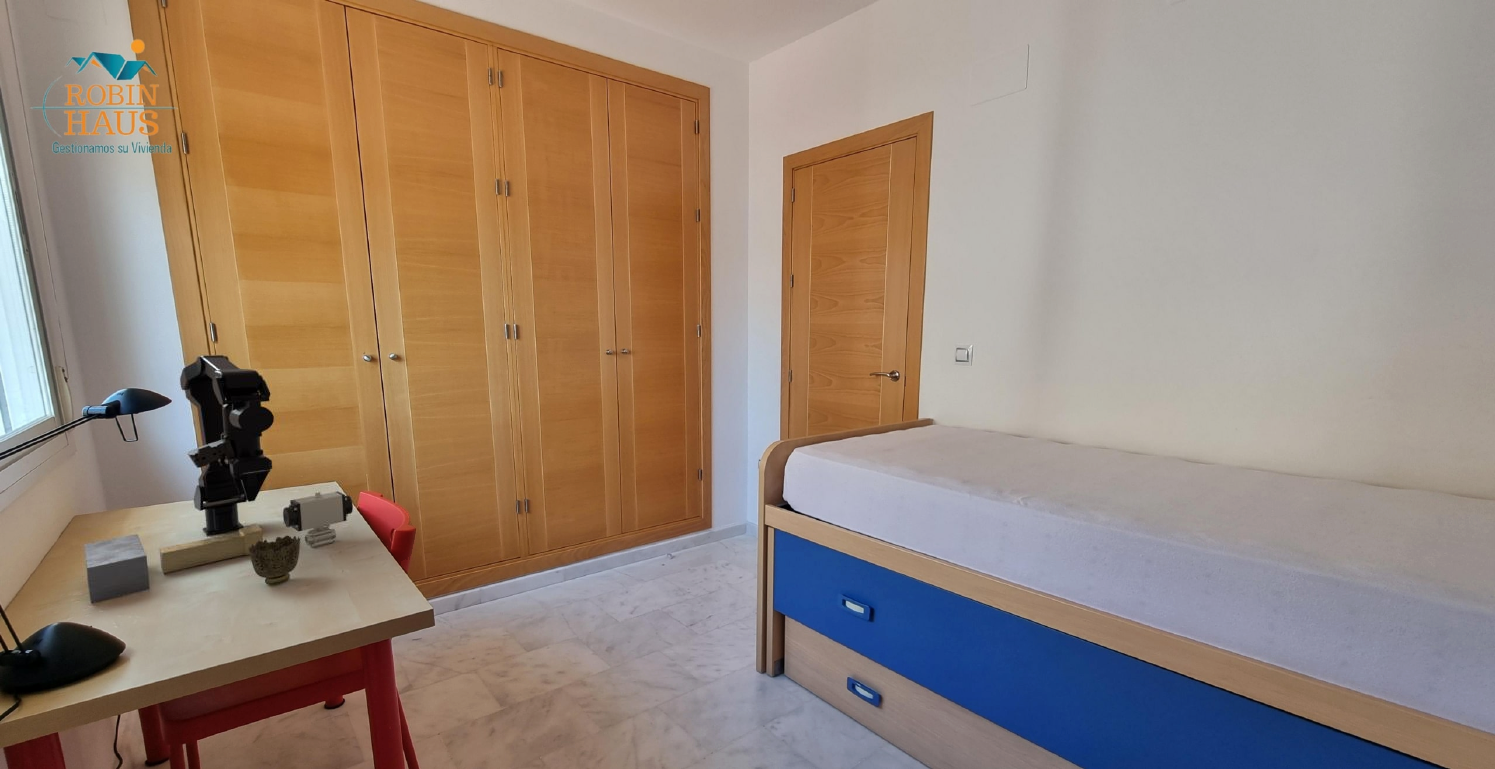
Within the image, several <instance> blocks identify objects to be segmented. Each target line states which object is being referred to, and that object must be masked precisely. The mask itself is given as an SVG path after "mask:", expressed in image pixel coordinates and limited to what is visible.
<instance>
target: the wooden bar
mask: <svg viewBox="0 0 1495 769" xmlns="http://www.w3.org/2000/svg"><path fill="white" fill-rule="evenodd" d="M258 541H261V542H264V532H263V529H262V528H261V527H260V526H259V525H258V524H257V525H251V526H247V527H243V528H241V529H238V532H234V533H230V534H224V535H219V536H213V537H210V538H204V539H199V540H195V541H190V542H185V543H181V544H176V545H175V544H174V545H170V546H166V547H161V548H159V550H158V551H159V560H160V568H161V571H162V572H163V574H166V573H170V572H173V571H179V570H182V569H188V568H191V567H196V566H200V565H204V564H205V565H206V564H209V563H212V562H218V561H221V560H225V559H230V558H235V557H238V556H243V555H245V556H250V552H249V547H250V548H251V545H252V544H253V545H254V546H255V545H256V543H257V542H258Z"/></svg>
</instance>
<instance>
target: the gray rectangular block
mask: <svg viewBox="0 0 1495 769" xmlns="http://www.w3.org/2000/svg"><path fill="white" fill-rule="evenodd" d="M83 548H84V550H83V551H84V557H85V558H84V559H85V566H86V568H85V569H86V576H87V583H88V584H87V585H89V586H88V591H89V592H88V593H89V599H90V600H89V601H90V604H91V605H92V604H96V603H99V602H103V601H104V602H105V601H108V600H112V599H115V598H116V599H117V598H121V597H124V596H128V595H131V594H136V593H141V592H145V591H149V590H151V589H150V588H151V587H150V578H149V567H148V557H147V553H146V551H145V548H144V546H143V543H142V541H141V539H140V537H139V535H138V534H137V533H136V534H131V535H130V534H129V535H127V536H126V535H125V536H120V537H115V538H111V539H105V540H104V539H103V540H99V541H95V542H90V543H89V542H88V543H84V544H83Z"/></svg>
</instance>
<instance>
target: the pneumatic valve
mask: <svg viewBox="0 0 1495 769" xmlns="http://www.w3.org/2000/svg"><path fill="white" fill-rule="evenodd" d="M289 502H290V504H289V505H288V506H286V507H284V508H283V511H282V518H283V523H284V525H285V527H286V528H290V527H291V528H292V529H294V530H295V531H297V532H304V531H307V532H306V534H305V536H304V542H305V544H306V546H311V547H312V548H318V547H322V545H323V546H327V545H331V544H333V543H334V540H335V539H336V538H337V531H336V528H330V525H334V524H339V523H342V522H343V523H344V522H347V517H348V516H349V515H351V514H352V513H353V509H354V505H353V500H352V497H351V496H350V495H345V493H342V492H340V491H333V492H327V493H322V494H321V491H318V492H314V495H313V496H312V495H310V496H307V497H301V498H296V499H291V500H290V501H289ZM330 543H331V544H330ZM326 544H327V545H326Z"/></svg>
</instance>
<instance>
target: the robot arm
mask: <svg viewBox="0 0 1495 769" xmlns="http://www.w3.org/2000/svg"><path fill="white" fill-rule="evenodd" d="M195 360H196V361H194V362H192V363H191V364H189V365H187V366H185V367H184V368H183V369H182V372H181V374H180V377H179V378H180V379H179V384H180V389H181V391H184V394H185V398H186V400H188V401H189V402H190V403H192V405H194V406H195V407H196V409H197V416H198V422H199V429H200V436H201V444H202V446H199V447H197V448H194V449H191V450H189V451H188V452H187V451H186V452H187V453H186V454H187V455H188V457H189V458H190V460H191V461H192V463H193V464H194V466H195V467H196V468H198V469H199V468H204V469H203V471H202V472H201V474H200V475H199V477H198V485H196V487H195V492H194V496H193V506H194V508H195V509H197V510H198V511H199V512H200V511H204V515H205V516H204V517H205V526H206V527H202V531H203V533H204V534H205V535H206V536H211V535H212V536H213V535H217V534H221V533H227V532H232V531H237V530H239V529H241V528H244V525H243V524H242V523H241V522H240V520H239V510H238V504H240V503H241V504H242V503H247V502H250V503H251V502H255V501H256V499H257V497H258V496H259V493H260V491H261V488H262V486H263V485H264V482H265V480H266V478H267V477H268V475H269V473H271V470H272V469H273V461H272V460H271V459H270V458H269V457H267V456H266V455H264V449H262V445H261V437H263V432H265V431H267V430H269V429H270V428H271V426H272V425H273V423H274V422H275V417H274V415H273V412H272V411H271V410H270V408H267V407H265V406H262V403H263V402H264V403H266V402H270V397H271V391H270V388H269V387H268V384H267V382H266V380H265V379H264V377H263V376H262V374H259V372H258V371H257V370H255V369H248V368H246V369H245V368H240V367H238V366H237V365H235V364H234V363H233V362H231V361H230V359H229V357H228V355H222V354H221V355H220V354H218V355H216V354H213V355H212V354H211V355H209V354H208V355H201V356H197V357H196V359H195Z"/></svg>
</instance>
